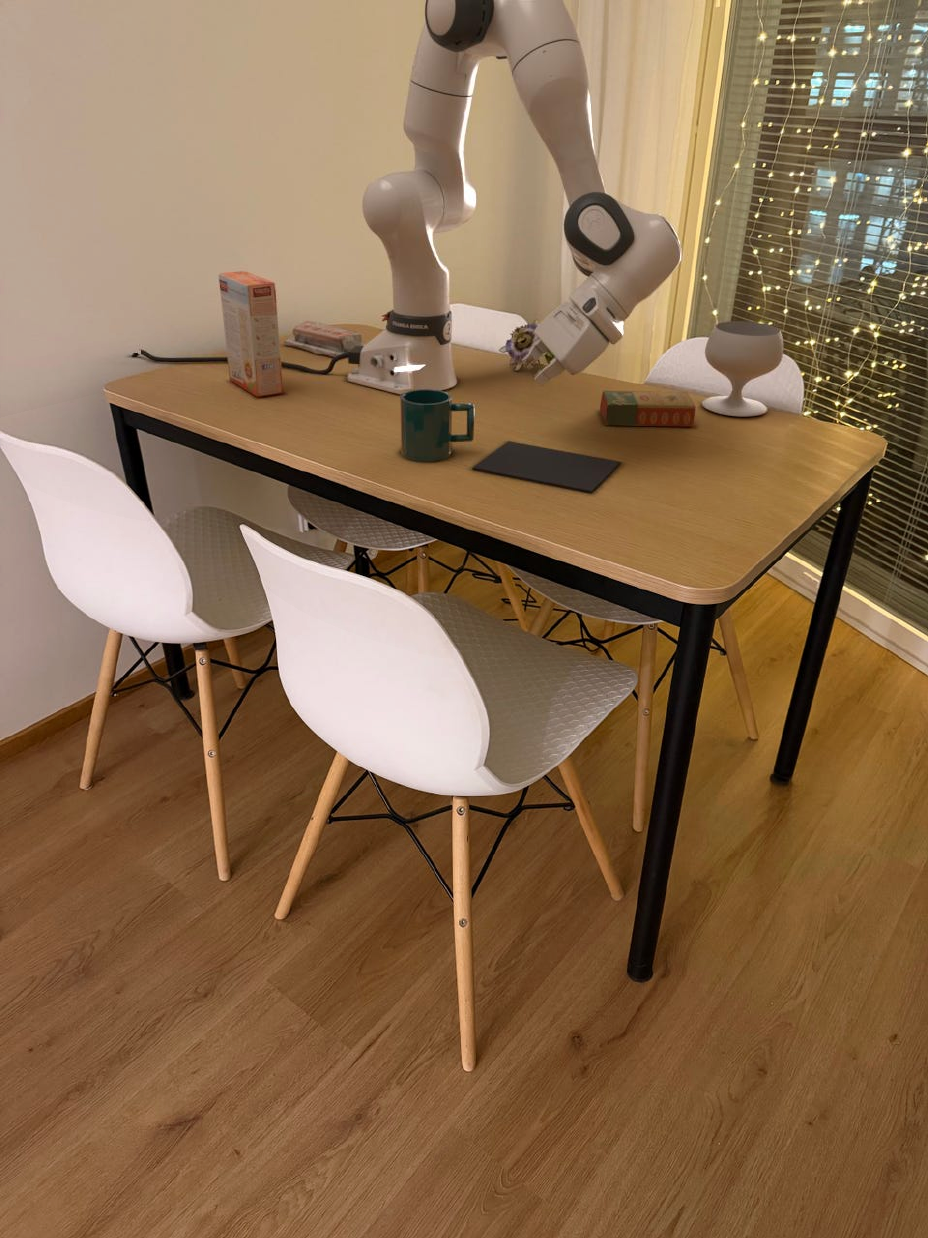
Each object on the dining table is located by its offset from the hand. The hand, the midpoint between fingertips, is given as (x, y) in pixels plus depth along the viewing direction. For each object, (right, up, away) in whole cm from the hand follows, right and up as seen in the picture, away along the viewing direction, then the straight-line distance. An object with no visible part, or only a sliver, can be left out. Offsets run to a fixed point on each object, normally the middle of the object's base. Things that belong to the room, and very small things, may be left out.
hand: (530, 373), depth 146 cm
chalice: (+41, +1, +28) cm, 50 cm away
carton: (+23, -3, +21) cm, 31 cm away
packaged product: (-42, +22, +61) cm, 77 cm away
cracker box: (-52, +6, +34) cm, 63 cm away
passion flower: (+4, +15, +50) cm, 53 cm away
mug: (-15, -12, +5) cm, 20 cm away
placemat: (+3, -15, 0) cm, 15 cm away
